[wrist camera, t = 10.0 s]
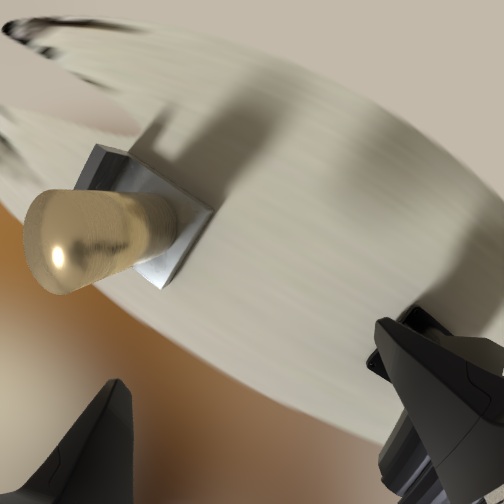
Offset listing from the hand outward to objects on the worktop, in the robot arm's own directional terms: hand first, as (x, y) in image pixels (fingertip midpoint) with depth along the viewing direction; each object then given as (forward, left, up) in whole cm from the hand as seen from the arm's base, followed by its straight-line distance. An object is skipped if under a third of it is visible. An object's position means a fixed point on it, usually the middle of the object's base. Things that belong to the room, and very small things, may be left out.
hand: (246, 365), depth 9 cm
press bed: (+11, +2, -13) cm, 17 cm away
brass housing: (+9, +2, -11) cm, 15 cm away
